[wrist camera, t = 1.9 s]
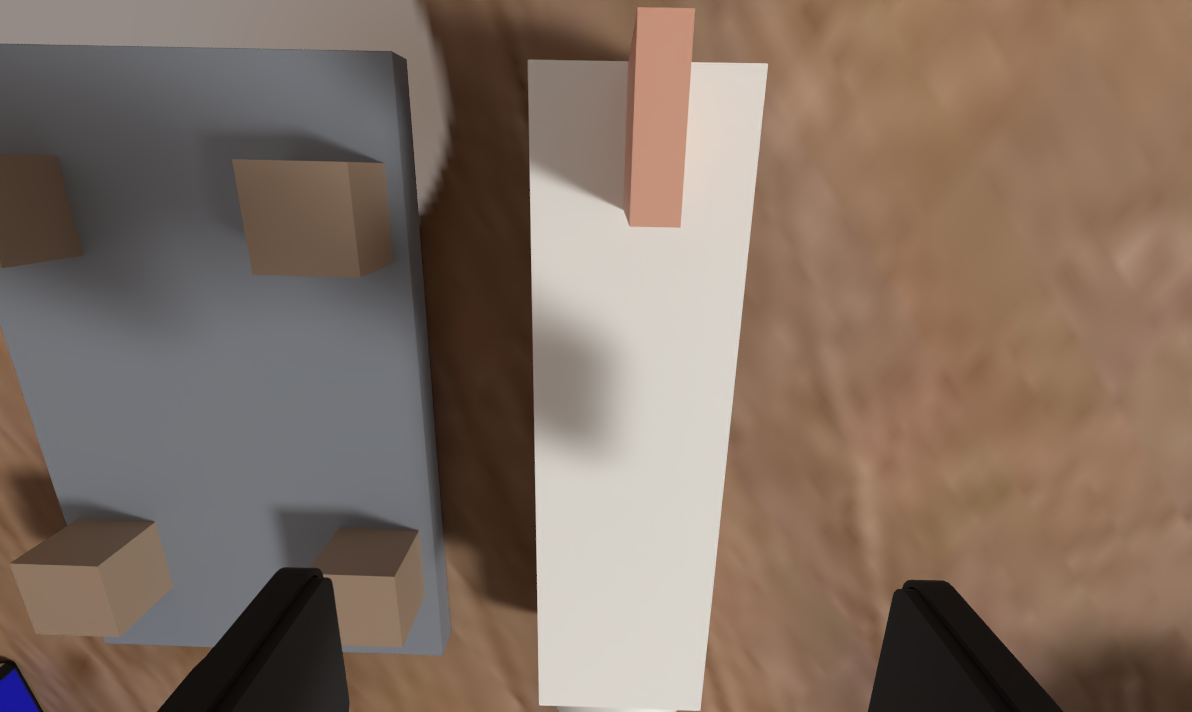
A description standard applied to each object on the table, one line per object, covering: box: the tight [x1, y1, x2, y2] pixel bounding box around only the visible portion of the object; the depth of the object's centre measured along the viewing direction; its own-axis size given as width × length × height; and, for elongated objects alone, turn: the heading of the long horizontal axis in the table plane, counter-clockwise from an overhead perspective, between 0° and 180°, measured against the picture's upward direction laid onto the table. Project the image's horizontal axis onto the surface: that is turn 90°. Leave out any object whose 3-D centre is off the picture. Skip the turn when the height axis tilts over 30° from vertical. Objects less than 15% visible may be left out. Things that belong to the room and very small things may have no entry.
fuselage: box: [528, 7, 768, 712], centre depth 16 cm, size 20×5×10 cm, turn 179°
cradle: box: [0, 44, 451, 656], centre depth 19 cm, size 22×14×4 cm, turn 179°
